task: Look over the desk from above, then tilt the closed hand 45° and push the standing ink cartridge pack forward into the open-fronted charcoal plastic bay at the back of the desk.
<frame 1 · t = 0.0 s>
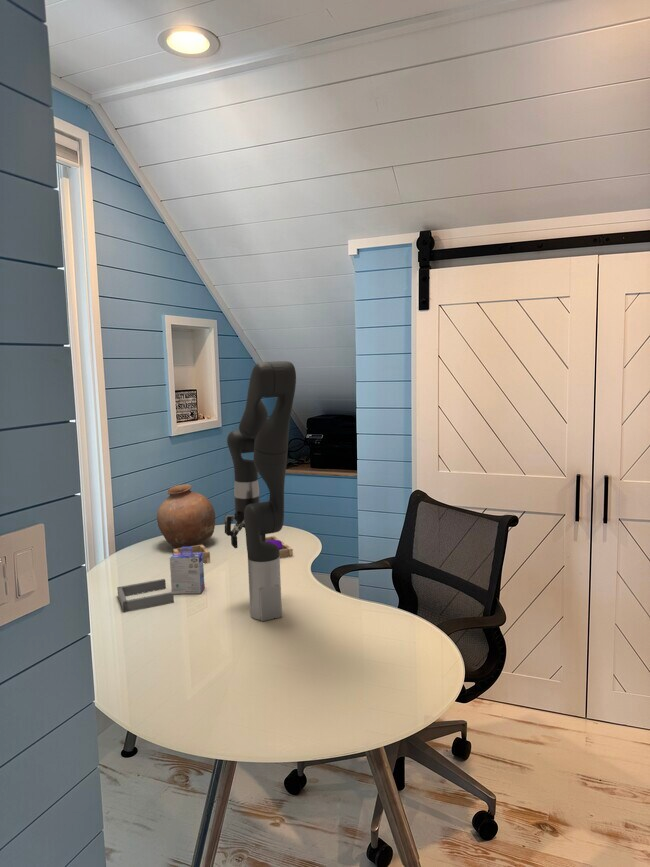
hand: (248, 545, 185), 17 cm above the table, tool pointing down, fingers open, 8 cm apart
crystal cradle: (271, 551, 234), on the table
crystal: (271, 552, 235), on the table
pottery: (187, 546, 245), on the table
wooden tray: (191, 560, 226), on the table
ink cartridge box: (188, 591, 196), on the table
bay: (144, 599, 190), on the table
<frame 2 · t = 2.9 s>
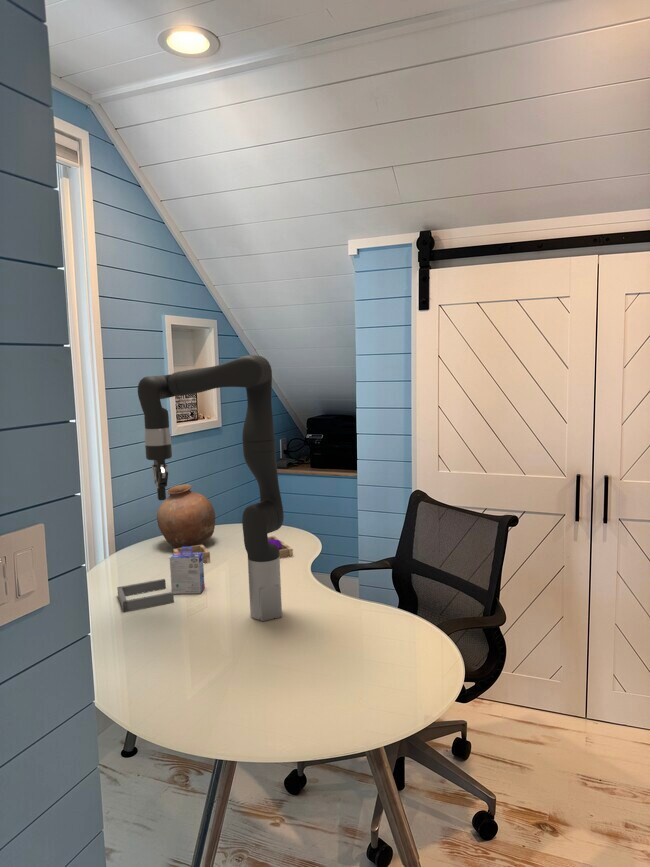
hand: (161, 499, 181), 33 cm above the table, tool pointing down, fingers closed
nothing on the table moved.
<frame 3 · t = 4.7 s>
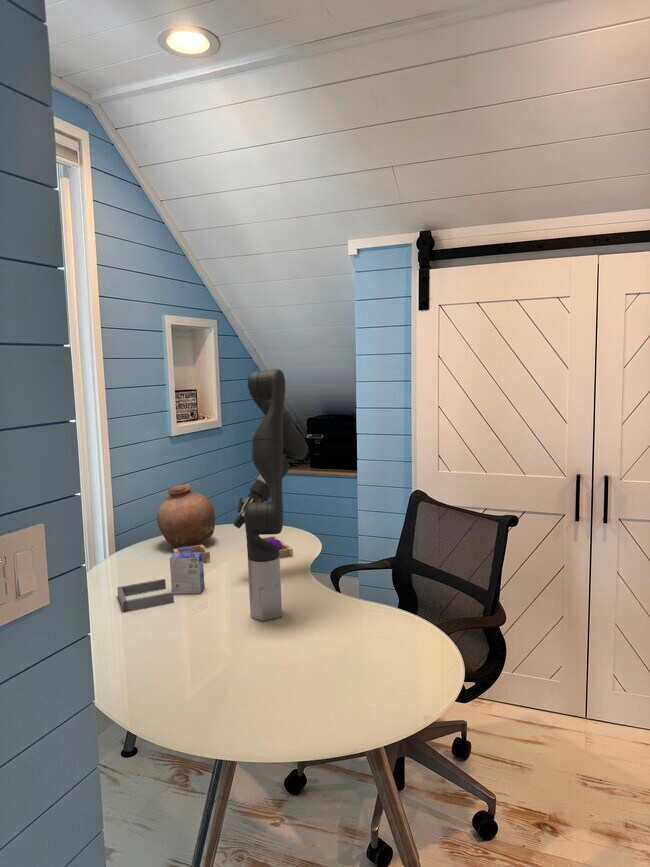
hand: (236, 526, 201), 19 cm above the table, tool tilted 45°, fingers closed
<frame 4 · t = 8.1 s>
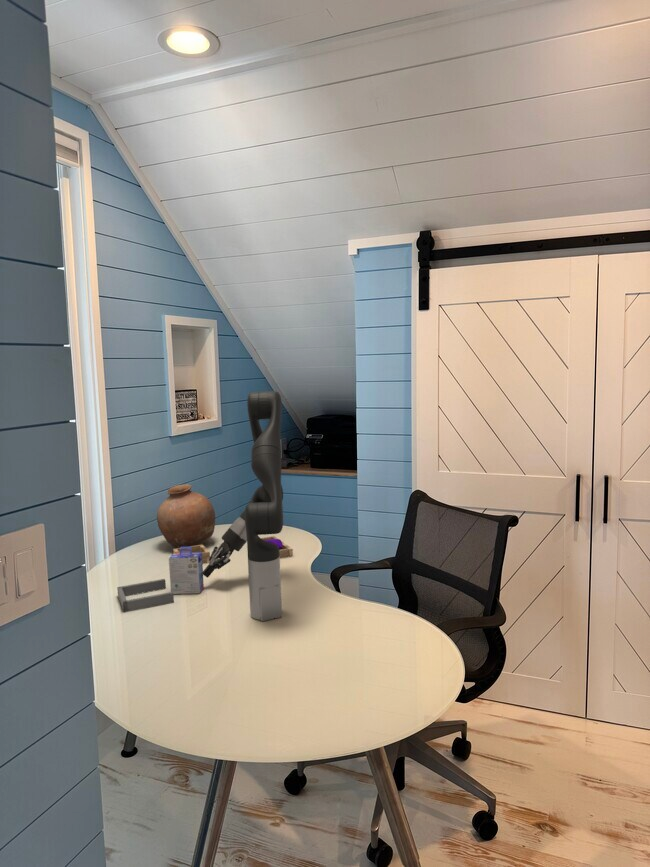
hand: (204, 575, 198), 4 cm above the table, tool tilted 45°, fingers closed
ink cartridge box: (187, 591, 196), on the table, touching gripper
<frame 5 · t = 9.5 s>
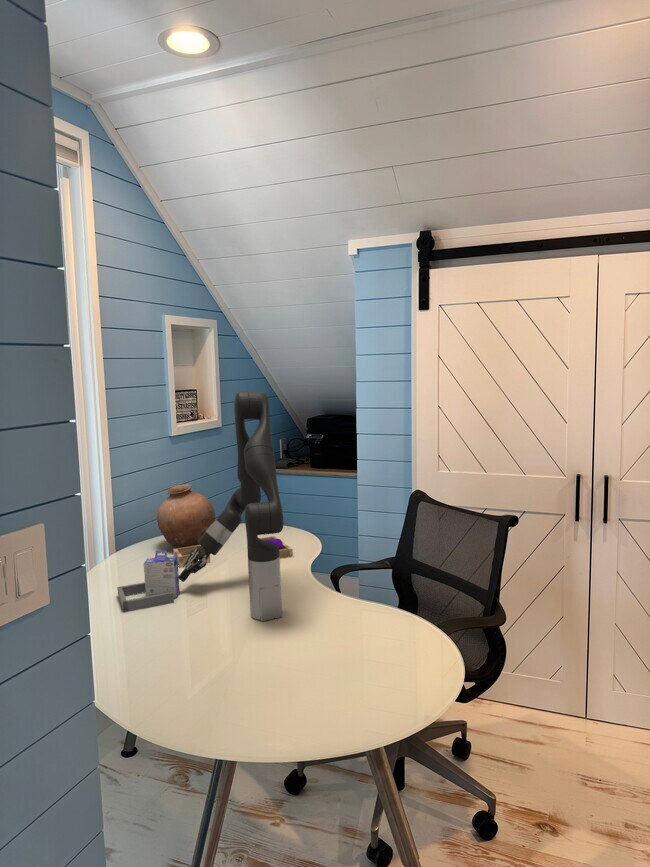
hand: (180, 579, 195), 4 cm above the table, tool tilted 45°, fingers closed
ink cartridge box: (163, 596, 192), on the table, touching gripper
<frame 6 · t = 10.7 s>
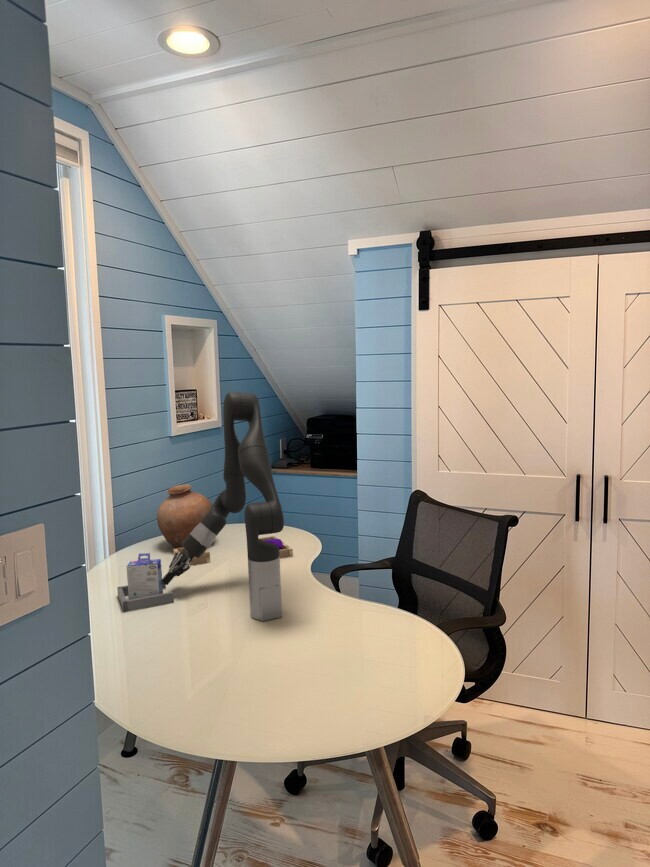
hand: (164, 583, 192), 4 cm above the table, tool tilted 45°, fingers closed
ink cartridge box: (146, 599, 190), on the table, touching gripper
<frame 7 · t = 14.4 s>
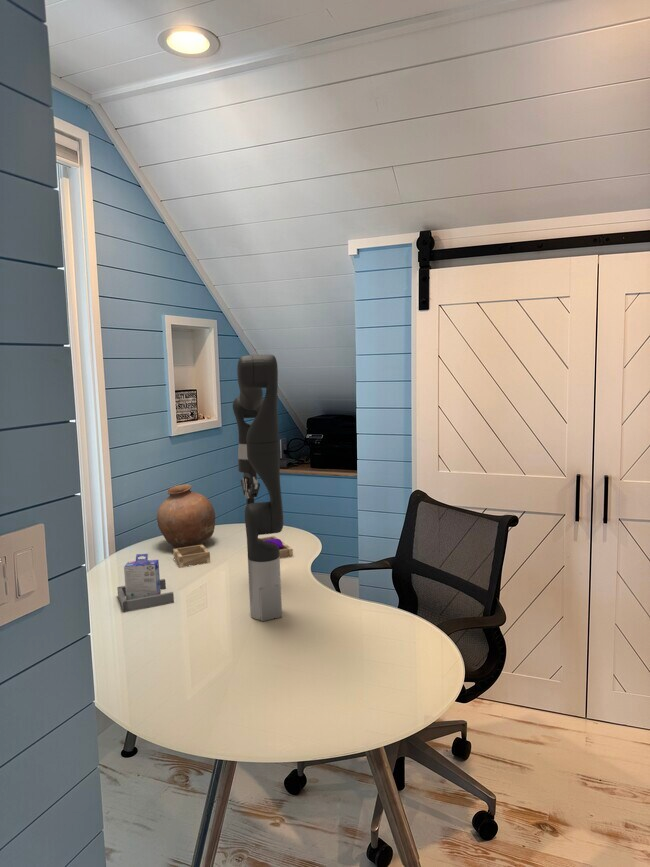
hand: (250, 509, 198), 25 cm above the table, tool pointing down, fingers closed
ink cartridge box: (144, 600, 189), on the table
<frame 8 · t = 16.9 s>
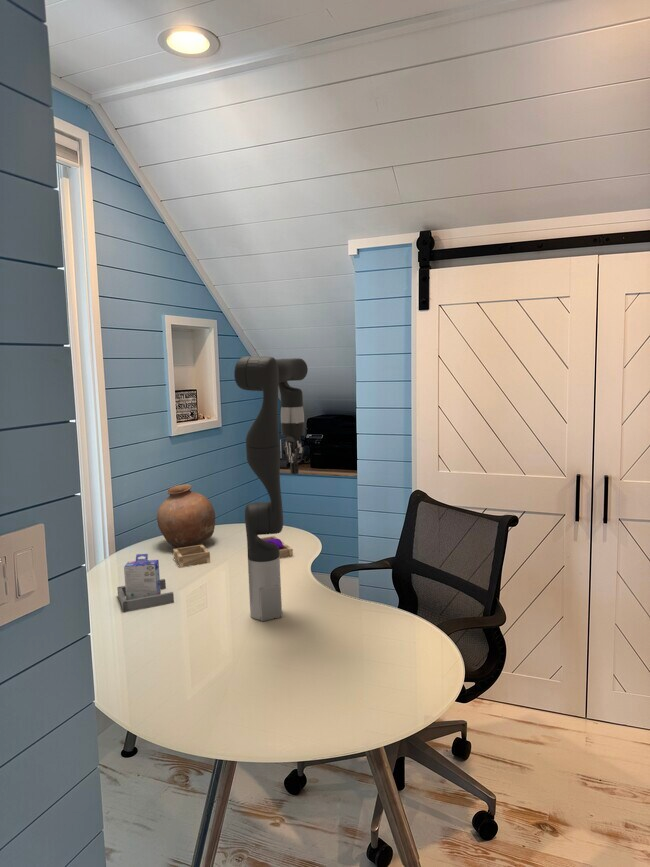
hand: (294, 473, 195), 37 cm above the table, tool pointing down, fingers closed
at the end: ink cartridge box 1.8 cm from the target spot on the bay, point 0.0 cm above the bay's base; ink cartridge box tilted 0°; ink cartridge box moved 14.2 cm from its start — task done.
